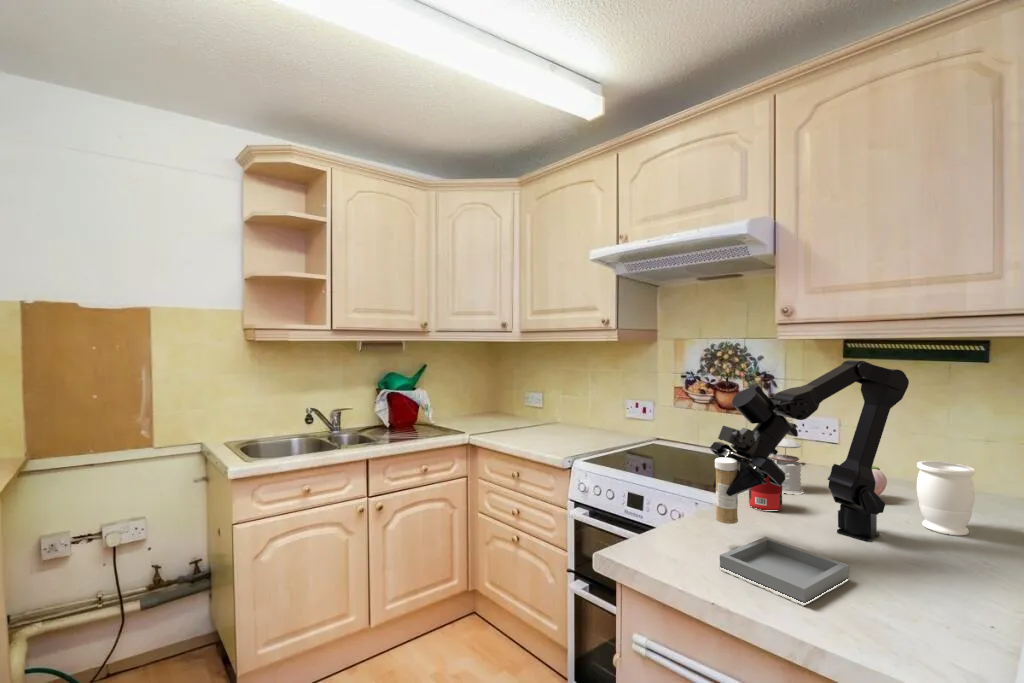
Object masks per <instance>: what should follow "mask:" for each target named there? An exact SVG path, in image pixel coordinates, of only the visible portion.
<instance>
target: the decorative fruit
mask: <svg viewBox="0 0 1024 683" xmlns="http://www.w3.org/2000/svg"><path fill="white" fill-rule="evenodd" d="M880 469H881V468H880V467H878V466H875V465H872V472H873V475H874V478H875V482H876V484H875V490H874V492H875V493H876V494H877V495H878V496H880V495H881V494H882V493H883V492H884V491H885V489H886V487H887V485H888V479H887V477H886V475H885V474H884V473H883V472H882V471H881V470H880Z"/></svg>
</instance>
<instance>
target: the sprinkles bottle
mask: <svg viewBox="0 0 1024 683" xmlns="http://www.w3.org/2000/svg"><path fill="white" fill-rule="evenodd" d="M714 468H715V478H716V489H715V505H716V506H715V510H716V516H715V520H716V521H718V522H720V523H723V524H727V525H732V524H733V525H735V524H737V523H738V522H739V519H738V518H739V517H738V507H739V506H738V503H739V501H738V500H739V499H738V496H739V495H738V494H739V493H737V494H734V495H732V496H728V495H727V494H726V491H727V490H728V488H729V486H730V485H731V483H732V482H733V481H734V479H735V478H736V476H737V469H738V470H739V465H738V462H737V460H735V459H732V458H718V457H717V458H715V459H714Z"/></svg>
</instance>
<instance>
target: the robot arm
mask: <svg viewBox="0 0 1024 683" xmlns="http://www.w3.org/2000/svg"><path fill="white" fill-rule="evenodd" d="M855 383H858V384H860V392H861V396H862V399H863V402H864V403H863V404H862V405H863V407H862V409H861V413H860V415H859V417H858V418H859V419H858V421H857V425H856V428H855V431H854V434H853V437H852V440H851V443H850V446H849V449H848V452H847V456H846V459H845V460H844V461H843V462H842V463H840V464H837V463H833V465H832V466H831V470H830V474H829V476H828V477H827V479H826V480H827V481H828V489H829V491H830V493H831V495H832V498H833V501H834V502H835V503H838V504H839V510H837V527H838V529H836V533H837V534H838V533H839V534H841V533H842V534H843V535H845V536H848V537H851V536H852V538H854V539H855V538H856V539H858V538H859V539H858V540H863V541H865V542H869V541H871V540H874V539H876V538H878V537H879V536H881V533H880V532H878V531H877V528H878V527H877V524H878V523H877V522H878V521H877V520H878V518H877V517H878V515H879V514H883V513H884V511H885V507H886V503H885V502H884V501H883V500H882V499H881V498H880V495H877V494H876V493H875V492H874V490H875V484H876V482H875V478H874V475H873V472H872V466H874V465H873V464H874V461H875V457H876V455H877V451H878V449H879V445H880V443H881V439H882V436H883V433H884V430H885V427H886V424H887V423H886V422H887V420H888V417H889V413H890V411H891V409H892V408H893V407H895V405H897V403H899V402H900V401H902V400H903V398H904V396H905V393H906V392H907V390H908V388H909V383H910V381H909V378H908V377H907V374H905V372H904V371H902V369H897V368H895V369H894V368H888V367H884V366H883V367H882V366H878V365H876V364H872V363H870V362H868V361H865V360H854V359H848V360H845V361H843V362H841V364H840V365H839V366H837V367H835V368H833V369H831V370H829V371H828V372H826V373H824V374H822V375H821V376H819V377H817V378H815V379H813V380H811V381H810V382H808V383H806V384H804V385H802V386H795V387H790V388H786V389H784V390H783V389H782V390H781V391H778V392H777V393H776V394H774V395H773V396H772V397H771V396H770V397H769V396H768V395H767V394H766V393H765V392H764V391H763V389H762V388H761V386H759V385H757V384H751V385H750V386H749V387H748V388H745V389H743V390H741V391H740V392H739V393H736V394H735V395H734V397H733V399H732V401H731V403H732V406H733V407H734V408H735V409H736V410H737V411H738V412H739V413H740V414H741V415H742V416H743V417H744V419H746V421H748V422H749V423H750V424H752V425H753V424H756V425H755V427H754V428H753V429H752V430H751V429H749V428H746V427H742V428H741V429H736V428H733V427H730V426H727V425H722V427H721V430H720V432H719V435H718V437H717V439H718V440H720V441H714V442H713V443H712V444H711V445H710V447H709V450H710V451H711V452H712V453H713V454H714V455H715V456H716V457H717V458H732V459H735V460H737V462H738V466H739V468H738V469H737V476H736V478H735V479H734V481H733V482H732V483H731V485H730V486H729V488H728V490H727V491H726V494H727V495H728V496H732V495H734V494H737V493H738V494H739V493H741V492H743V491H747V490H749V488H752V487H754V486H757V485H760V484H766V483H767V482H766V481H765V479H766V478H767V477H768V476H769V482H770V483H772V484H775V485H777V486H781V484H782V483H783V482H784V481H785V479H786V478H785V475H786V473H784V472H783V471H782V470H781V469H780V468H779V467H778V466H777V462H776V461H775V462H776V463H775V462H774V461H773V460H774V459H773V458H772V459H771V458H769V457H770V455H772V456H773V455H776V454H778V453H779V451H778V450H777V446H778V444H779V443H780V442H781V441H782V439H783V438H785V436H786V437H787V435H788V436H791V437H795V438H796V437H799V436H798V435H799V432H798V430H797V424H796V423H793V422H790V421H789V420H787V418H789V419H793V420H798V421H804V420H806V419H808V418H809V417H810V416H812V415H813V414H814V413H816V411H818V409H819V406H820V404H821V403H822V402H824V400H826V399H829V398H830V397H832V396H833V395H835V394H838V393H839V392H840V391H842V390H844V389H846V388H847V387H850V386H851V385H852V384H855ZM785 417H786V419H785ZM721 441H725V442H726V443H724V442H721ZM728 443H729V444H731V445H729V444H728ZM712 487H713V488H714V489H715V490H716V477H715V479H714V482H713V485H712ZM873 538H874V539H873Z"/></svg>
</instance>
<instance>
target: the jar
mask: <svg viewBox="0 0 1024 683" xmlns="http://www.w3.org/2000/svg"><path fill="white" fill-rule="evenodd" d="M916 468H918V469H919V472H918V474H917V479H916V495H917V499H918V504H919V510H920V512H921V514H922V516H923V518H924V520H922V521H921V524H922V527H924V528H926V529H928V530H930V531H933V532H935V533H939V534H944V535H948V534H949V536H950V535H951V536H966V535H969V533H970V531H969V529H968V527H967V525H969V523H970V521H971V519H972V515H973V508H974V507H975V506H974V505H975V502H976V500H975V499H976V492H975V484H974V480H973V478H972V476H974V475H975V473H976V472H975V469H974V468H973V467H970V466H967V465H965V464H964V465H963V464H958V463H954V462H953V463H952V462H946V461H936V460H921V461H918V462H917V461H916Z"/></svg>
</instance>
